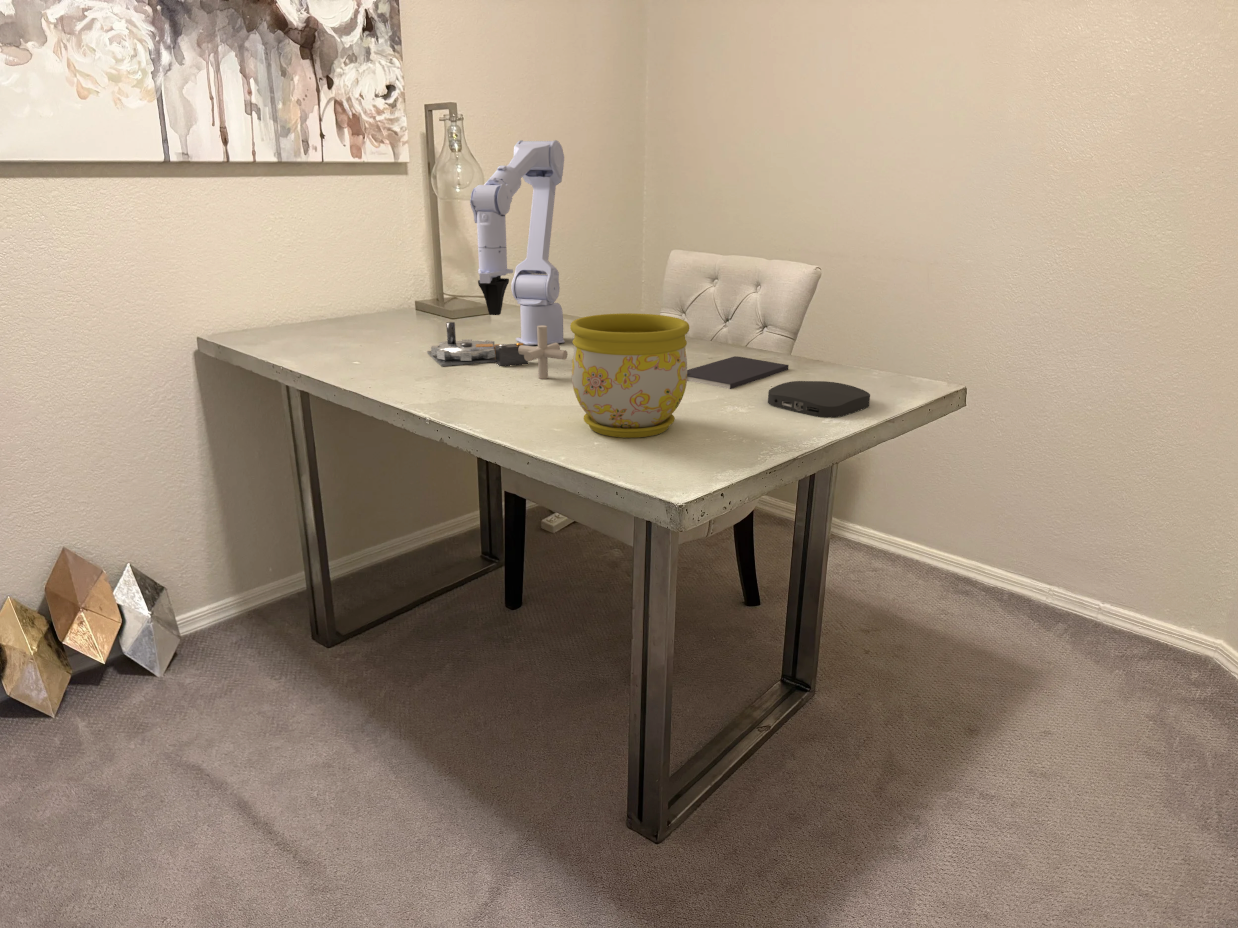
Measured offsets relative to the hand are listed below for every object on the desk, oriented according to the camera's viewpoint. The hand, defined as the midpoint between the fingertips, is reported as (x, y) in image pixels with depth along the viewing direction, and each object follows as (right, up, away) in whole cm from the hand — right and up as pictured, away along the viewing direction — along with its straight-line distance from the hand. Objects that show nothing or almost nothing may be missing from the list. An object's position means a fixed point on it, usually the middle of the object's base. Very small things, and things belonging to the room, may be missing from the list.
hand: (494, 314), depth 176 cm
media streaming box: (+60, -21, -28) cm, 70 cm away
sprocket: (-7, -8, +5) cm, 12 cm away
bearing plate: (-7, -8, +5) cm, 12 cm away
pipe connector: (+11, -14, -12) cm, 22 cm away
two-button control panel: (+4, -10, -1) cm, 11 cm away
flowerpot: (+27, -25, -42) cm, 56 cm away
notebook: (+48, -14, -8) cm, 51 cm away
